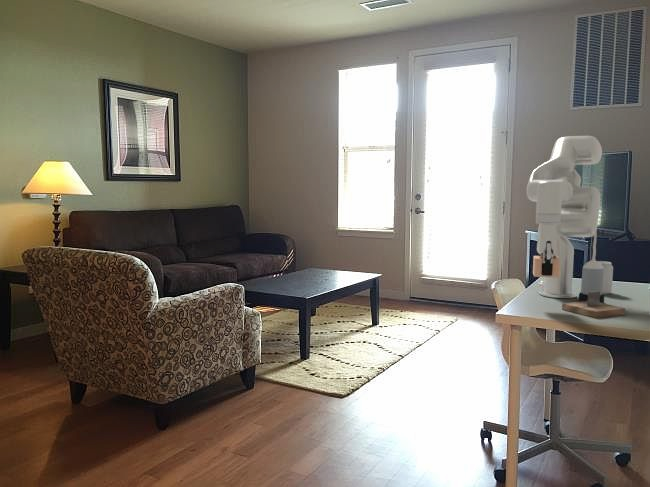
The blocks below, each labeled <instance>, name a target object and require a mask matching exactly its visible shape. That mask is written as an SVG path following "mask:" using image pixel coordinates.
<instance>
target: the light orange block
mask: <svg viewBox="0 0 650 487" xmlns="http://www.w3.org/2000/svg"><path fill="white" fill-rule="evenodd" d="M532 257H533V262H532V263H533V264H532V275H533V277H535V278H536V277H537V278H545V277H555V278H559V267H560V259H559V258H558V256H552V263H553V269H552V276H546V275H542V263H543V256H541V255H533V256H532Z"/></svg>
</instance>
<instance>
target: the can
mask: <svg viewBox="0 0 650 487" xmlns="http://www.w3.org/2000/svg"><path fill="white" fill-rule="evenodd" d="M596 261H597V262H599V263H600V264H601V265H602V266H603V268H604V275H603V291H602V294H603V295H609V294H611V293H612V290H613V275H614V266H613V265H612V262H610V261H603V260H600V261H599V260H596Z"/></svg>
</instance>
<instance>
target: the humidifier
mask: <svg viewBox="0 0 650 487" xmlns="http://www.w3.org/2000/svg"><path fill="white" fill-rule="evenodd" d="M597 233H598V231H597V230H596V231H595V232H594V235H593V236H592V237H590V238H591V241H590V242H591V243H590V247H589V249H590V251H592V252H590V255H589V256H590V257H589V261H588V262H585V263H584V264H583V266H582V271H581V285H580V286H581V288H580V292H579V293H578V298H577V299H578V300H577V302H581V301H588V292H591V291H600V303H604V304H605V294H602V291H603V275H604V268H603V266H602V265H601V264H600V263H599V262H597V261H598V260H596V255H597V247H596V246H597V235H598V234H597ZM592 240H593V241H592ZM591 247H592V249H591Z"/></svg>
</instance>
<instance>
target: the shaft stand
mask: <svg viewBox="0 0 650 487" xmlns="http://www.w3.org/2000/svg"><path fill="white" fill-rule="evenodd" d="M561 304H562V305H561V309H562V310H563V311H567V312H571V313H575V314H578V315H581V316H582V315H583V316H587V317H590V318H595V319H600V318H607V317H609V318H610V317H615V316H616V317H617V316H623V315H624V316H625V315H626V307H621V306H617V305H614V304H613V305H612V304H608V303H605V302H604V303H600V291H591V292H588V301H581V302H578V301H572V302H571V301H570V302H565V303H563V302H562V303H561Z"/></svg>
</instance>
